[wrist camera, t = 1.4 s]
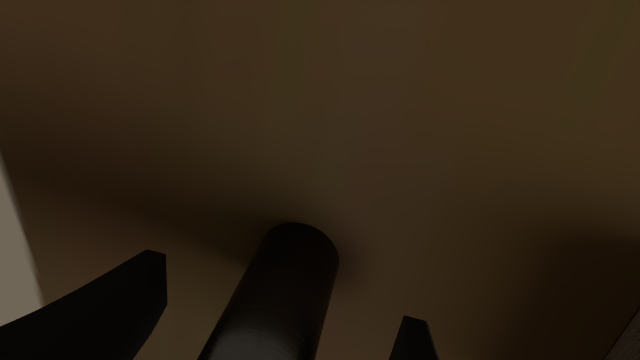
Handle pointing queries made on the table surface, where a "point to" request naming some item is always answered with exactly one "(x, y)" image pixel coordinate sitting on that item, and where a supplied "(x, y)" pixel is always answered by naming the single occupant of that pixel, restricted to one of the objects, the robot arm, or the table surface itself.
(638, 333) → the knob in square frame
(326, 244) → the round dark gray knob
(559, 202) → the table surface
